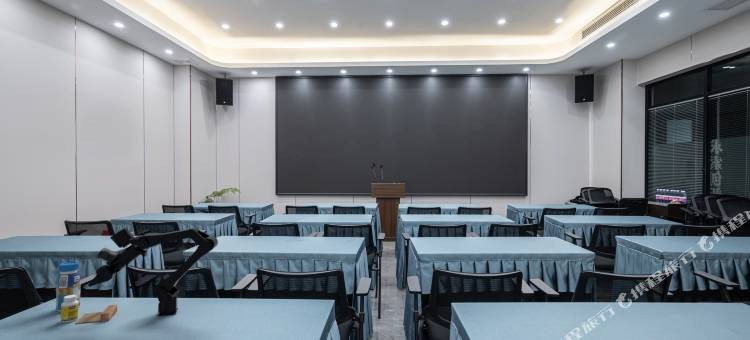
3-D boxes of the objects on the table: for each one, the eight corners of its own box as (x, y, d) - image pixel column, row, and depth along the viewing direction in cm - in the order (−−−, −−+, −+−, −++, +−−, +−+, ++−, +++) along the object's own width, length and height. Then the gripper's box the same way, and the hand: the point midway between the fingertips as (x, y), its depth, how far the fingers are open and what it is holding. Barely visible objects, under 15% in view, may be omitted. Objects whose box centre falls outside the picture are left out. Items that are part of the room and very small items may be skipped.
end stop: (117, 311, 157) (117, 304, 157) (109, 320, 147) (109, 313, 147) (85, 314, 153) (85, 307, 153) (74, 324, 143) (74, 316, 143)
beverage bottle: (51, 309, 157) (52, 264, 157) (74, 303, 165) (75, 259, 165) (60, 313, 153) (61, 266, 153) (84, 307, 161) (85, 262, 161)
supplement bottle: (68, 323, 144) (68, 299, 144) (57, 322, 145) (57, 298, 145) (81, 318, 149) (82, 294, 149) (71, 317, 150) (71, 293, 150)
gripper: (120, 237, 160) (87, 262, 156) (105, 247, 143) (67, 275, 139) (138, 255, 163) (106, 280, 159) (126, 267, 145) (90, 295, 141)
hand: (93, 282), depth 149 cm, fingers open, 9 cm apart
